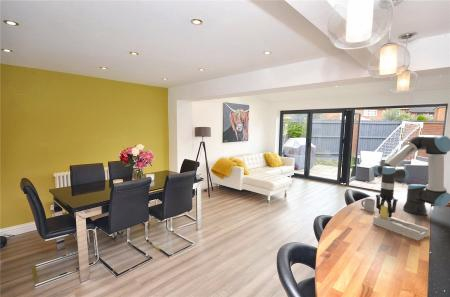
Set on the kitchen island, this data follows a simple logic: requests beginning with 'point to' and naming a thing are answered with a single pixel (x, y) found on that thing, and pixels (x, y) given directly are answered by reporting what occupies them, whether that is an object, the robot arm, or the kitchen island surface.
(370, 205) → the cup
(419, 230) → the rail
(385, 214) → the yellow juice carton
